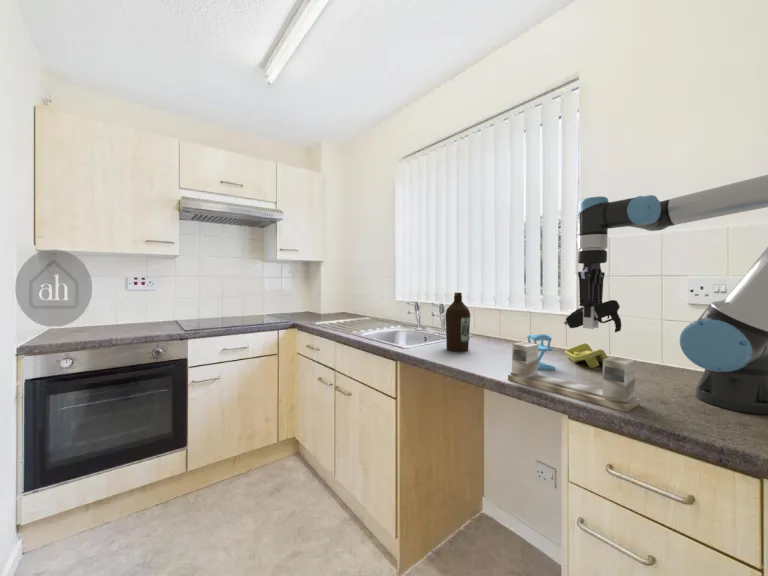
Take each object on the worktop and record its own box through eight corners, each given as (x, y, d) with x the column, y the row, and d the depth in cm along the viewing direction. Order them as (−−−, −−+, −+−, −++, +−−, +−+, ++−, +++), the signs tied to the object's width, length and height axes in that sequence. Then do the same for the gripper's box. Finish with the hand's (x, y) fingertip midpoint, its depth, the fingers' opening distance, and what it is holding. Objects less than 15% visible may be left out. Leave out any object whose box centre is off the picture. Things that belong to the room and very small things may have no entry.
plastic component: (563, 350, 134) (589, 341, 132) (572, 368, 133) (598, 358, 131) (576, 358, 116) (606, 347, 113) (586, 378, 114) (617, 367, 112)
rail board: (639, 404, 83) (640, 360, 82) (627, 412, 78) (628, 365, 78) (522, 375, 107) (522, 341, 107) (507, 379, 103) (508, 343, 102)
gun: (577, 345, 106) (563, 315, 109) (632, 326, 94) (614, 294, 97) (573, 346, 104) (559, 316, 107) (629, 327, 92) (610, 294, 96)
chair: (543, 363, 123) (543, 331, 122) (555, 369, 114) (555, 334, 114) (522, 363, 123) (523, 331, 122) (533, 369, 114) (533, 334, 114)
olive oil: (440, 349, 146) (440, 292, 146) (453, 346, 154) (454, 291, 153) (461, 353, 139) (462, 293, 138) (474, 349, 147) (475, 292, 146)
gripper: (589, 252, 108) (588, 324, 109) (567, 249, 99) (565, 328, 99) (616, 250, 102) (614, 327, 103) (595, 247, 93) (593, 331, 93)
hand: (590, 327), depth 101 cm, fingers closed on gun, 3 cm apart
